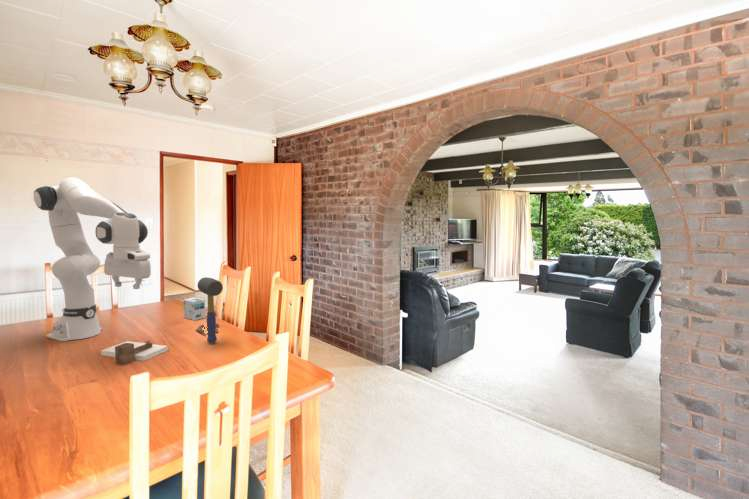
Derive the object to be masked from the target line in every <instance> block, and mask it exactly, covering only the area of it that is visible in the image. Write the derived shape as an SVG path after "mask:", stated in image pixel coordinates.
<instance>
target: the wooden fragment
mask: <svg viewBox="0 0 749 499" xmlns="http://www.w3.org/2000/svg"><path fill="white" fill-rule="evenodd" d="M203 327H204V325H202V324H201V325H199V326H198V327H197V328H196V329H195V331H196V330H197V331H196V332H198V333H200V334H202V336H203V335H204V337H207V336H206V335H208V333H207V334H205V333H204V330H202V328H203ZM217 327H218V328H220V325H219V324H218V323H216V326H215V331H216V334H217V332H219V330H218V328H217ZM206 328H207V327H206ZM216 328H217V329H216ZM204 329H205V327H204ZM207 331H208V328H207Z"/></svg>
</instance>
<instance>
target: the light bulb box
mask: <svg viewBox="0 0 749 499" xmlns="http://www.w3.org/2000/svg"><path fill="white" fill-rule="evenodd" d="M183 312H184V313H183V314H184V316H183V317H184V318H185V319H188V320H191V319H192V320H191V321H198V319H199V320H202V318H203V319H207V315H206V300H205V299H202V298H198V297H189V298H184V299H183Z"/></svg>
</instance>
